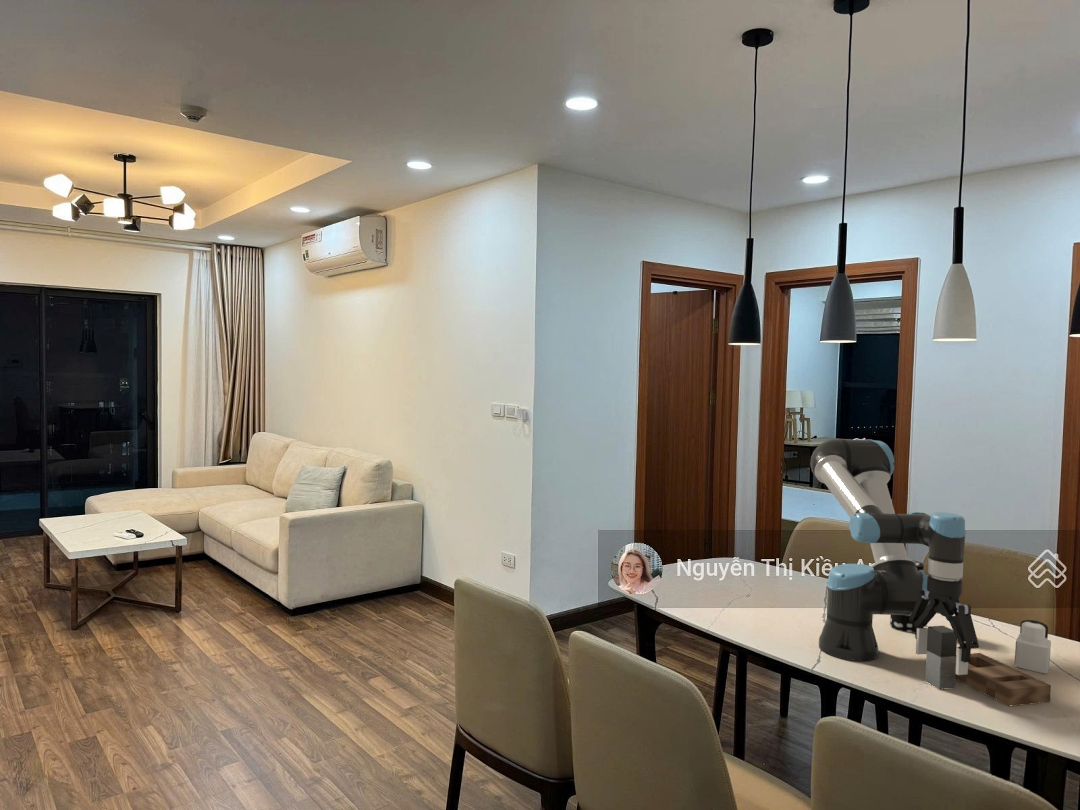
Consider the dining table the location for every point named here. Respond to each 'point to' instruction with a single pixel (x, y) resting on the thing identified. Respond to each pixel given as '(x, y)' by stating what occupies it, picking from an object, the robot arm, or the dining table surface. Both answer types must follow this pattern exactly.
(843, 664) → the dining table surface
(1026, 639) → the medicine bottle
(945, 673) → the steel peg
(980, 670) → the wooden compartment tray
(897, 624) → the spotted tube
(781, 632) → the dining table surface
